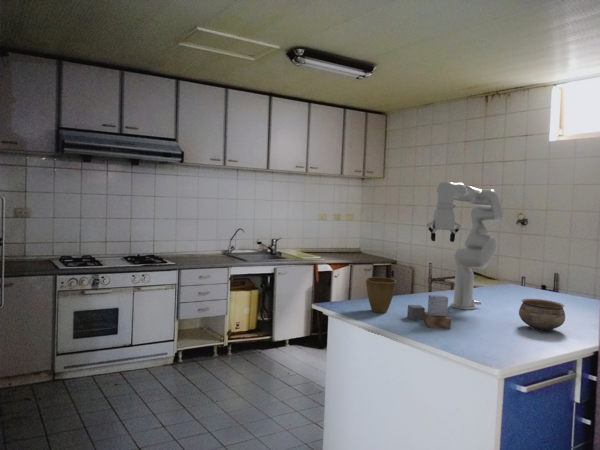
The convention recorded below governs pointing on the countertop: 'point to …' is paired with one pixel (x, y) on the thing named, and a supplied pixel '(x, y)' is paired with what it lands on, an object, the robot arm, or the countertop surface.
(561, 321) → the cooking pot
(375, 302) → the plant pot
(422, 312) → the charcoal cube
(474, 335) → the countertop surface
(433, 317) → the walnut block
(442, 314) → the medicine box
